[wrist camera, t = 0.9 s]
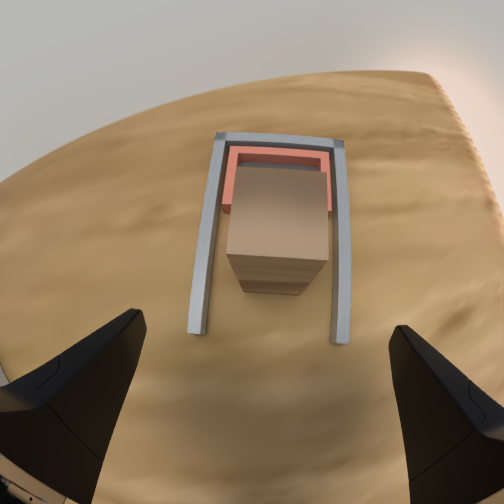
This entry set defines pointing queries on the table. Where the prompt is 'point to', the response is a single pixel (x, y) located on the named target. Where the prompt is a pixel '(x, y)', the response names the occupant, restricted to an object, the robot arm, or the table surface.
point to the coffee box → (3, 378)
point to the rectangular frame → (273, 165)
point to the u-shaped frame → (211, 214)
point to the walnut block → (278, 229)
